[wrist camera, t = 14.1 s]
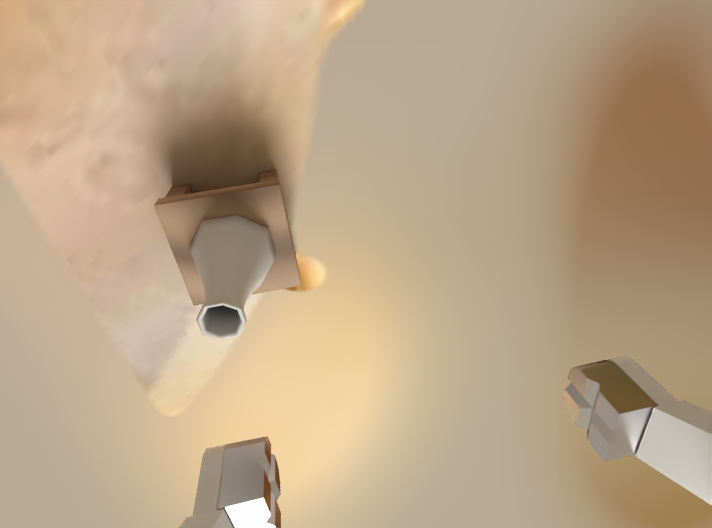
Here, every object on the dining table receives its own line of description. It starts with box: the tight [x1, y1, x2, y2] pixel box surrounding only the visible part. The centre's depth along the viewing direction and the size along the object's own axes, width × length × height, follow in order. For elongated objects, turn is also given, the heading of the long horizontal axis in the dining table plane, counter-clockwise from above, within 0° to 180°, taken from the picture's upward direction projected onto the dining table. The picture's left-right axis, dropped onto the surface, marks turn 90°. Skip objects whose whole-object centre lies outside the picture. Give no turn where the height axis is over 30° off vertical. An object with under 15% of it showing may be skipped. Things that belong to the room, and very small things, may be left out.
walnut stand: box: [154, 170, 301, 305], centre depth 38 cm, size 10×10×5 cm
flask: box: [190, 215, 276, 340], centre depth 32 cm, size 7×7×10 cm
